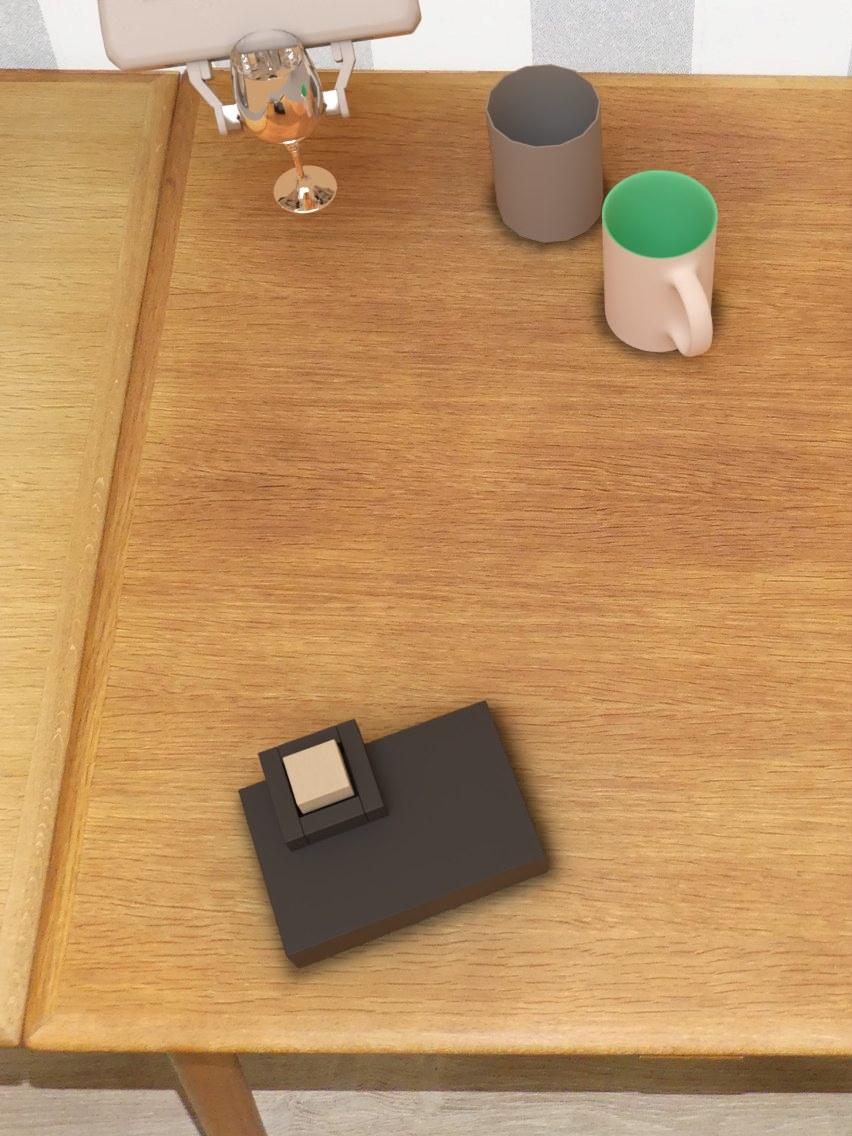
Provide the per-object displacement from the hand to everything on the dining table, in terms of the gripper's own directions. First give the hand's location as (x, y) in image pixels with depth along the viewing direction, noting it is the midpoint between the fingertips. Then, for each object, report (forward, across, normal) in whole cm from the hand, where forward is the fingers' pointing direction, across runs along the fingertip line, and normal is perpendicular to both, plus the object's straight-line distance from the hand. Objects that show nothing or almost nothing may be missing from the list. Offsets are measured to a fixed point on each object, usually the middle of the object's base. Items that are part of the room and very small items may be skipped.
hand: (286, 126), depth 95 cm
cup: (+8, +18, +15) cm, 25 cm away
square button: (+38, -5, -21) cm, 44 cm away
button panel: (+43, -1, -20) cm, 48 cm away
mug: (+18, +24, +5) cm, 31 cm away
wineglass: (+4, 0, +5) cm, 7 cm away
